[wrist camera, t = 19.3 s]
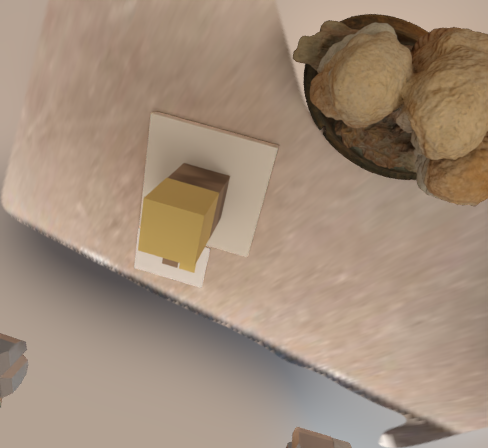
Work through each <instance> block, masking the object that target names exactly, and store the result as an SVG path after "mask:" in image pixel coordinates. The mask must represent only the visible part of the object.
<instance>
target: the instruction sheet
mask: <svg viewBox="0 0 488 448" xmlns="http://www.w3.org/2000/svg"><path fill="white" fill-rule="evenodd" d="M139 236H140V228H138V235H137V245H136V255H135V264H134V268H136V269H139V270H142V271H146V272H149V273H152V274H156V275H159V276H162V277H166V278H169V279H172V280H176V281H179V282H182V283H186V284H189V285H192V286H196V287H199V288H202V285H203V280H204V276H205V271H206V267H207V262H208V258H209V253H210V248H207V247H205V248H204V250H203V251H202V253H201V255H200V257H199V259H198V261H197V262H196V264H195V266H194V267H192V266H188V265H185V264H182V263H178V262H175V261H172V260H168V259H165V258H162V257H158V256H155V255H152V254H148V253H145V252H142V251H138V245H139Z"/></svg>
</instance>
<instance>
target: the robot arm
mask: <svg viewBox="0 0 488 448" xmlns="http://www.w3.org/2000/svg"><path fill="white" fill-rule="evenodd" d="M26 350H27V347H26V342H25V341H22V340H19V339H16V338H13V337H10V336H7V335H4V334H1V333H0V407H1V403H2V398H3V397H5V396H7V395H10V394H11V393H13V392H14V391H15V390H16V389H17V388H18V386H19V385H20V384H21V382H22V380H23V379H24V377H25V375H26V373H27V368H28V360H27V359H26V357H25V356H24V355H23V353H24V352H25V351H26ZM286 448H352V447H351V445H350V443H348V442H345V441H341V440H338V439H334V438H331V437H330V436H327V435H323V434H320V433H317V432H313V431H310V430H306V429H303V428H300V427H297V428H295V430H294V432H293V434H292V442H289V443H288V444H287V447H286Z"/></svg>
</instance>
